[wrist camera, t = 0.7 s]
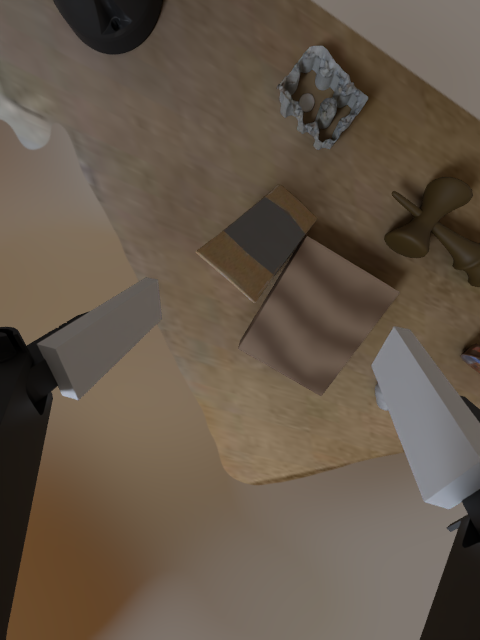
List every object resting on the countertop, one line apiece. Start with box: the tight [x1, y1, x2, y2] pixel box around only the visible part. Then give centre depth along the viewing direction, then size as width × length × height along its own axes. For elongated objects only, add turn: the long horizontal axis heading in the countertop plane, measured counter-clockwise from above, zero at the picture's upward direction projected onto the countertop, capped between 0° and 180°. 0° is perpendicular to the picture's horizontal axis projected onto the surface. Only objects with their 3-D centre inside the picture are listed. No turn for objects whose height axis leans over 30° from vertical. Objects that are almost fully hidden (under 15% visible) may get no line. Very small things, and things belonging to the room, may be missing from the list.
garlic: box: [375, 384, 388, 410], centre depth 38 cm, size 6×5×5 cm
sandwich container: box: [195, 184, 317, 303], centre depth 29 cm, size 9×15×15 cm, turn 140°
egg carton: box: [277, 46, 368, 150], centre depth 31 cm, size 11×8×4 cm
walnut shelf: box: [238, 236, 400, 396], centre depth 37 cm, size 20×16×4 cm
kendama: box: [384, 177, 480, 287], centre depth 32 cm, size 6×10×20 cm
